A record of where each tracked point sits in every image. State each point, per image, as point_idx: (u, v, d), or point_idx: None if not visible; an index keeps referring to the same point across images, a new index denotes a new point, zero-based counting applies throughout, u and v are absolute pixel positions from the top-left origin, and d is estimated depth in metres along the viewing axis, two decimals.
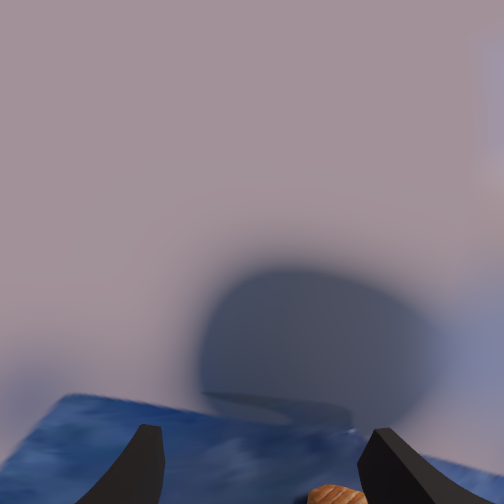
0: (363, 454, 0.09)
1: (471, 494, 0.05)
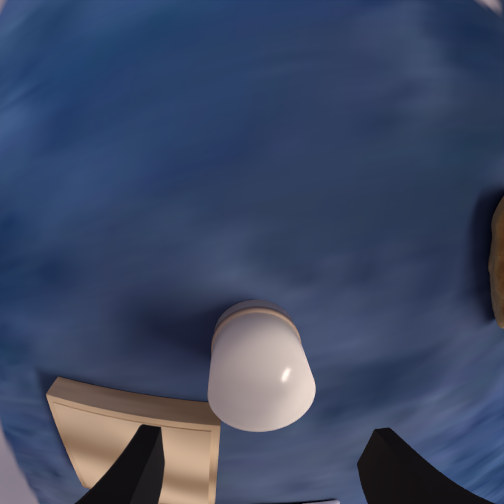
0: (363, 454, 0.09)
1: (471, 494, 0.05)
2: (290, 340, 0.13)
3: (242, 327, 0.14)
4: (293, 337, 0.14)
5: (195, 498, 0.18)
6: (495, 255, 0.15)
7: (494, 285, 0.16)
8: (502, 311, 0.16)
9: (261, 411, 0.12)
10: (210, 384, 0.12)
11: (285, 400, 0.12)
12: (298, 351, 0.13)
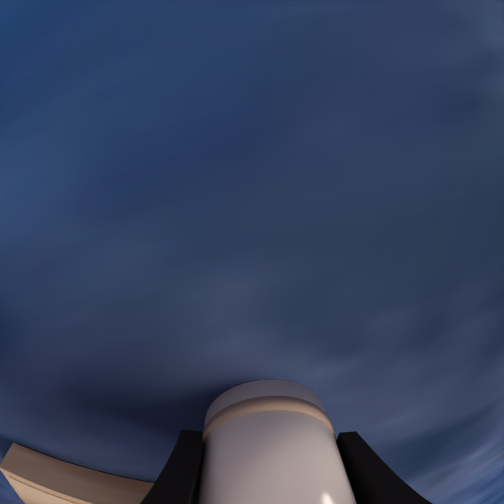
0: None
1: None
2: (328, 463, 0.07)
3: (249, 443, 0.07)
4: (330, 451, 0.07)
5: None
6: None
7: None
8: None
9: None
10: None
11: None
12: (341, 482, 0.06)
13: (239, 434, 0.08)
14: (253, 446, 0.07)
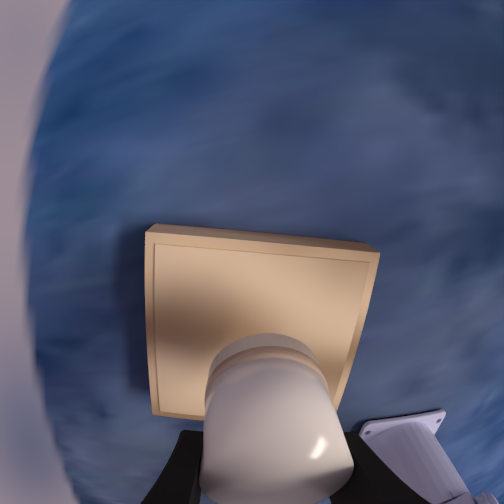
0: None
1: None
2: (329, 410, 0.08)
3: (261, 382, 0.09)
4: (329, 402, 0.09)
5: None
6: None
7: None
8: None
9: (270, 496, 0.08)
10: (206, 467, 0.07)
11: (307, 487, 0.08)
12: (339, 428, 0.08)
13: (251, 375, 0.09)
14: (265, 385, 0.09)
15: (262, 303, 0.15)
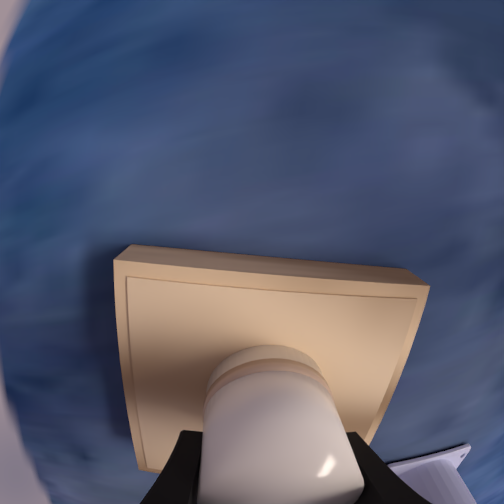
0: None
1: None
2: (337, 426, 0.08)
3: (264, 398, 0.08)
4: (337, 417, 0.08)
5: None
6: None
7: None
8: None
9: None
10: (205, 488, 0.06)
11: None
12: (348, 445, 0.07)
13: (253, 389, 0.08)
14: (268, 400, 0.08)
15: None
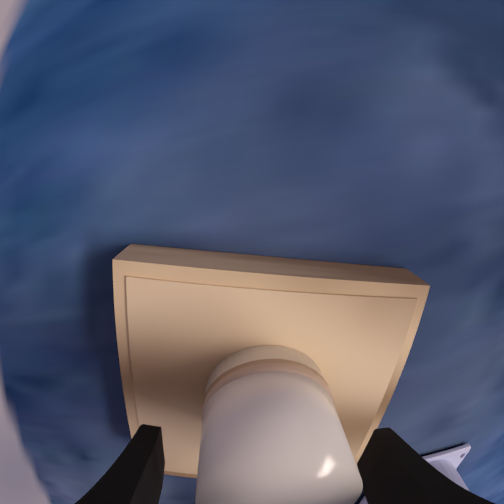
0: (363, 454, 0.09)
1: (471, 494, 0.05)
2: (336, 427, 0.08)
3: (262, 398, 0.08)
4: (336, 418, 0.08)
5: None
6: None
7: None
8: None
9: None
10: (203, 489, 0.06)
11: None
12: (347, 446, 0.07)
13: (252, 390, 0.08)
14: (267, 401, 0.08)
15: None
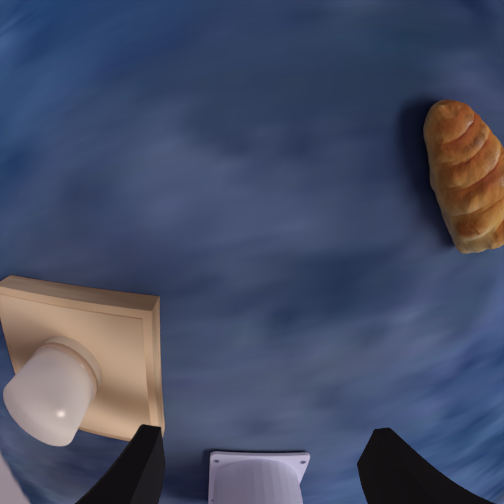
0: (363, 454, 0.09)
1: (471, 494, 0.05)
2: (64, 381, 0.13)
3: (37, 359, 0.14)
4: (71, 379, 0.14)
5: (138, 427, 0.18)
6: (431, 166, 0.16)
7: (439, 201, 0.16)
8: (456, 230, 0.16)
9: (39, 427, 0.12)
10: (3, 393, 0.12)
11: (53, 426, 0.12)
12: (63, 392, 0.13)
13: (37, 355, 0.14)
14: (37, 360, 0.13)
15: None
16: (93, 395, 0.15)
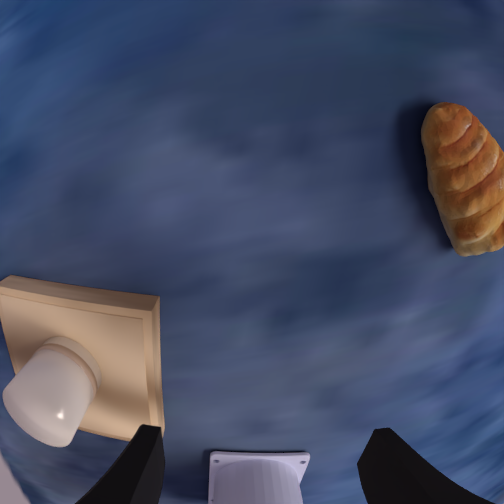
0: (363, 454, 0.09)
1: (471, 494, 0.05)
2: (62, 385, 0.13)
3: (37, 360, 0.14)
4: (71, 382, 0.14)
5: (138, 427, 0.18)
6: (429, 170, 0.16)
7: (437, 204, 0.16)
8: (454, 234, 0.16)
9: (38, 428, 0.12)
10: (3, 395, 0.12)
11: (51, 428, 0.12)
12: (62, 396, 0.13)
13: (37, 356, 0.14)
14: (37, 362, 0.13)
15: None
16: (92, 397, 0.15)
